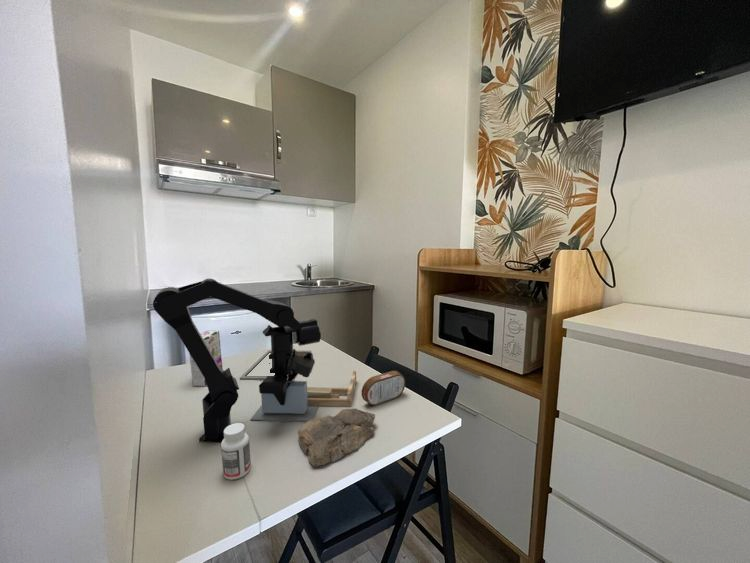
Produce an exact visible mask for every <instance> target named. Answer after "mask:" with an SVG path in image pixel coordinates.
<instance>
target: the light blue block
mask: <svg viewBox="0 0 750 563" xmlns="http://www.w3.org/2000/svg"><path fill="white" fill-rule="evenodd" d="M288 382H292V383H291V384H290V386H289V387H288V388H287V390H286V399H285V405H280V404H279V402H278V400H277V399H276V397H275V396H274V394H261V393H260V394H261V405H262V413H296V414H305V412H306V410H307V408H308V402H307V387H308V381H306V380H304V381H303V380H294V381H288Z"/></svg>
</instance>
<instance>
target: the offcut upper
mask: <svg viewBox="0 0 750 563" xmlns="http://www.w3.org/2000/svg"><path fill="white" fill-rule="evenodd" d="M326 388H327V387H318V388H307V398H331V396H332V389H326Z"/></svg>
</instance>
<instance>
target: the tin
mask: <svg viewBox="0 0 750 563" xmlns="http://www.w3.org/2000/svg"><path fill="white" fill-rule="evenodd" d="M405 387H406V378H405V377H404V376H403V374H401V372H399V371H398V370H391V371H388V372H384V373H381V374H376V375H374V376H371V377H369V378H368V379H367V380H366V381H365V382H364V383H363V385H362V388H361V398H362V400H363V401H365V403H367V404H368V405H369V406H370V405H371V406H378V405H380V404H383V403H386V402H390V401H392V400H394V399H397V398H399V397H400V396H401V395H402V393H403V392H404V391H405Z"/></svg>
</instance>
